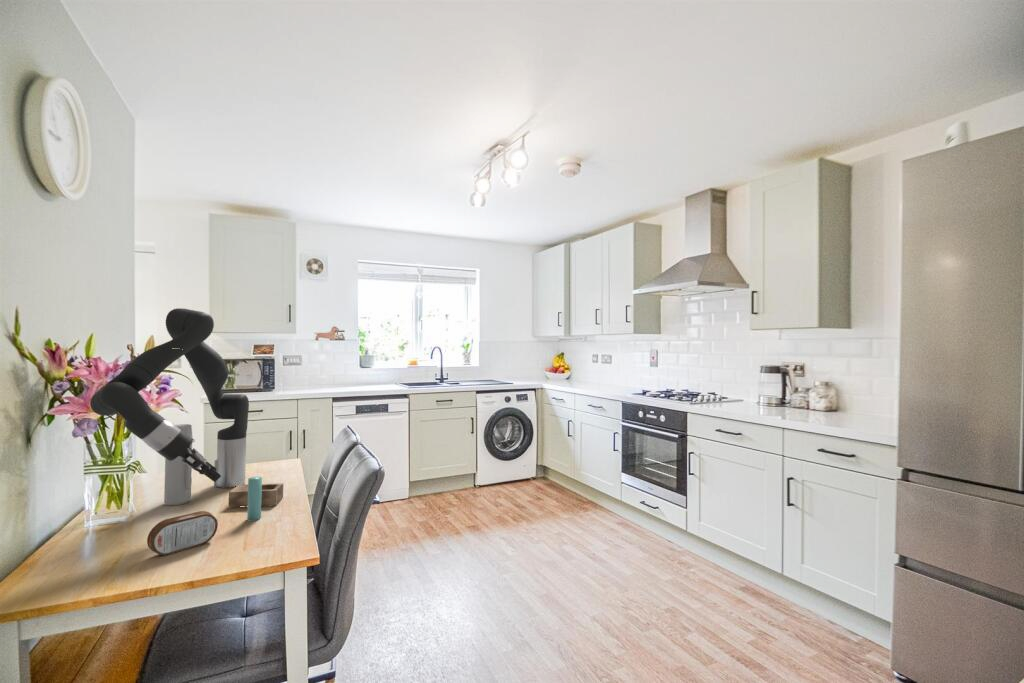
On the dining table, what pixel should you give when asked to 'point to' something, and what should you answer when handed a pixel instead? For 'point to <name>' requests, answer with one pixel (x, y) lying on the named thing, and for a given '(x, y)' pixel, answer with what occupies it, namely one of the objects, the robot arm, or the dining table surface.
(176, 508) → the dining table surface
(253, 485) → the peg
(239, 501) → the socket
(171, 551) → the tin
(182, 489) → the water bottle
